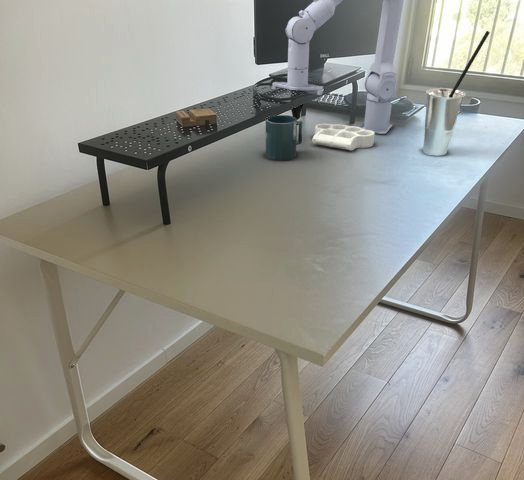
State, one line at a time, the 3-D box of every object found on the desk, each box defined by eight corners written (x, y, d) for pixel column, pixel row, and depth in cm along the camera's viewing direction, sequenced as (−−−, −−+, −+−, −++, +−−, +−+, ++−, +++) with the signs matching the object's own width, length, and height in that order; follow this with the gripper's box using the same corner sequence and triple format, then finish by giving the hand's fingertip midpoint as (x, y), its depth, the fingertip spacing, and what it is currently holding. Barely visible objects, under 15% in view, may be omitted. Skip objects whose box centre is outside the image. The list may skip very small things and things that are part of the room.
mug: (278, 162, 147) (278, 125, 142) (259, 154, 153) (259, 118, 147) (310, 154, 153) (312, 118, 147) (291, 146, 158) (292, 111, 152)
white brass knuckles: (301, 144, 159) (324, 131, 169) (360, 155, 152) (379, 140, 162) (302, 132, 157) (324, 120, 167) (361, 142, 150) (381, 128, 160)
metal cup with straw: (463, 159, 149) (490, 31, 131) (420, 158, 149) (442, 31, 131) (452, 146, 158) (477, 24, 139) (413, 146, 158) (432, 24, 139)
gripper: (268, 68, 153) (268, 119, 161) (318, 72, 148) (315, 125, 157) (277, 63, 158) (277, 113, 166) (326, 67, 153) (323, 118, 162)
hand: (296, 118), depth 162 cm, fingers closed
